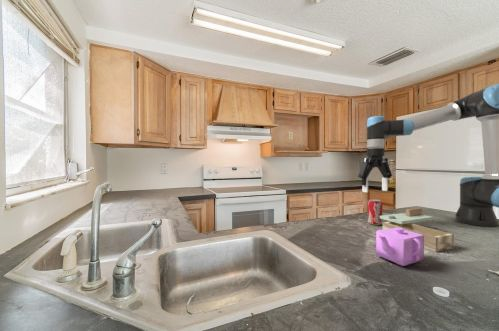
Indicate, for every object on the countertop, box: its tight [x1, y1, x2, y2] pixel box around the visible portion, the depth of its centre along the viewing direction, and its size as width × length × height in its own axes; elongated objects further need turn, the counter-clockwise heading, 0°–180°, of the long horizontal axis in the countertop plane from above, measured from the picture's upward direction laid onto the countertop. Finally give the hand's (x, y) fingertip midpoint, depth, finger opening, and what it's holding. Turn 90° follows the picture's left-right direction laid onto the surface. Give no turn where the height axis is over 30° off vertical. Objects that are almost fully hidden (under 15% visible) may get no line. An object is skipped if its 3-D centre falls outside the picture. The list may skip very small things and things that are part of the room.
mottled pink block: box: [375, 228, 425, 267], centre depth 70 cm, size 18×14×10 cm
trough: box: [381, 221, 455, 253], centre depth 86 cm, size 10×20×5 cm, turn 20°
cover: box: [380, 207, 434, 224], centre depth 98 cm, size 20×10×4 cm, turn 110°
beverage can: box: [367, 198, 383, 226], centre depth 109 cm, size 6×6×12 cm
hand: (375, 191), depth 108 cm, fingers open, 12 cm apart
